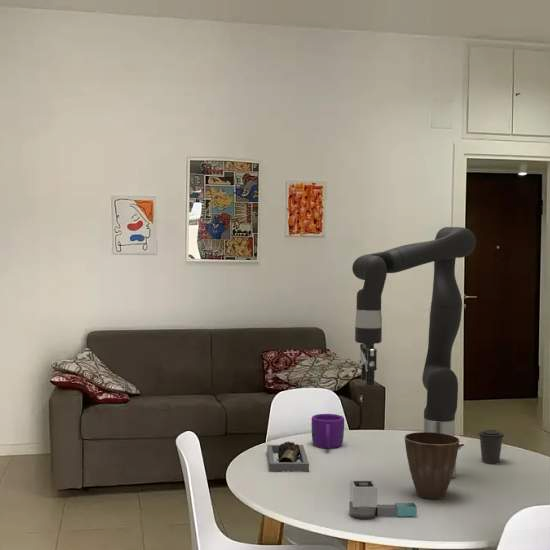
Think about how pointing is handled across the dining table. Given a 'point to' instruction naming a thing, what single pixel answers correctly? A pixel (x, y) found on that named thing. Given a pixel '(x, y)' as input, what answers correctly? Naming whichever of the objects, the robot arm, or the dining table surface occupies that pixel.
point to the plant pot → (431, 462)
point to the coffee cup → (490, 446)
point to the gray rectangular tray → (286, 465)
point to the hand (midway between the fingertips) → (367, 382)
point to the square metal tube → (363, 494)
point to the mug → (327, 430)
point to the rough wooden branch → (288, 452)
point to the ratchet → (382, 509)
